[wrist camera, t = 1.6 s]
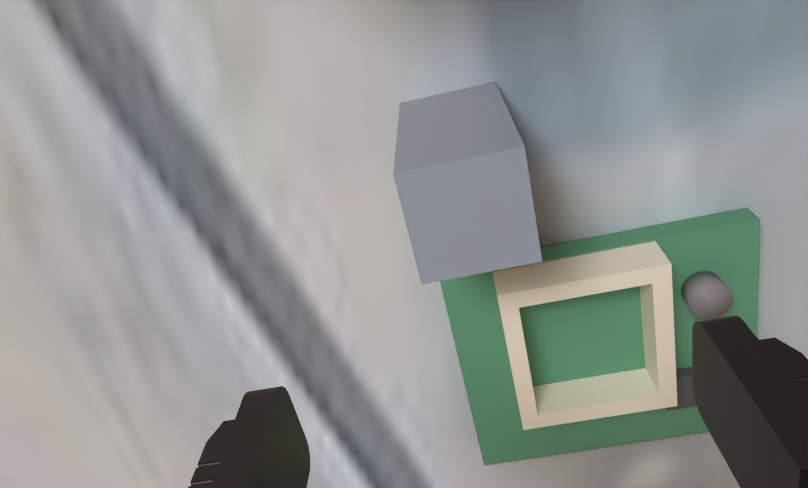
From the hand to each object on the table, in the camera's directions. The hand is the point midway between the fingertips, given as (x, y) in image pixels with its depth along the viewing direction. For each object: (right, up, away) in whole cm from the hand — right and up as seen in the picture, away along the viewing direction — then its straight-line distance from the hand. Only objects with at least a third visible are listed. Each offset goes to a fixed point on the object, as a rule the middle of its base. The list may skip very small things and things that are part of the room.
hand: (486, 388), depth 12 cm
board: (+8, -2, +19) cm, 21 cm away
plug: (+1, +7, +14) cm, 16 cm away
